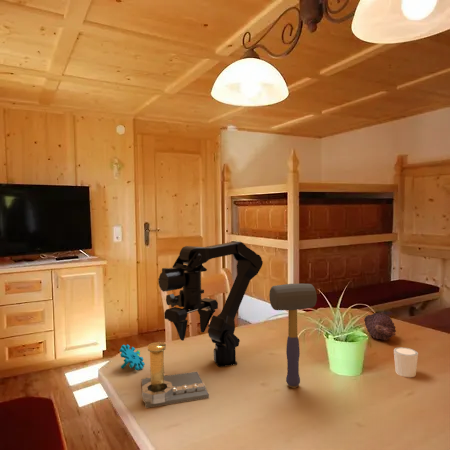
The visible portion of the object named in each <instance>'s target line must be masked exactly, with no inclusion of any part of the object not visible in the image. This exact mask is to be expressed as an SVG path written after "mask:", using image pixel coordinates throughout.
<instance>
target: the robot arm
mask: <svg viewBox="0 0 450 450" xmlns="http://www.w3.org/2000/svg"><path fill="white" fill-rule="evenodd" d="M231 255H232V256H233V259H235V261H236V262H237V264H236V272H237V274H236V277H235V279H234V281H233V284H232V287H231V288H230V291H229V293H228V295H227V297H226V300H225V302H224V305H223V307H222V310H221V312H220V313H219V314H217V316H216V315H214V313H215V312H216V310H217V309H219V303H218V302H219V301H217V300H216V299H213V298H208V297H204V298H202V294H204V293H205V289H202V272H208V269H207V268H206V267H205V266H204V265H203V264H205V263H207V262H208V261H210V260H212V259H217V258H221V257H227V256H231ZM262 258H263V257H262V256H261V255H260V254H258V253H256V252H255V251H254V250H252V249H251V248H249V247H248V246H247V245H246V244H245V243H244V242H242V241H237V240H235V241H234V240H233V241H231V242H224V243H219V244H214V245H208V246H198V245H197V246H192V245H185V246H182V248H181V249H180V251H179V255H178V256H177V258H176V260H175V262H174V263H173V265H172V267H163V268H162V269H161V273H160V274H159V277H158V279H157V280H158V285H159V289H160V290H161V291H162V292H164V293H165V292H171V291H175V290H179V293H178V294H177V295H175V294H174V293H169V294H168V295H167V294H166V296H165V302H166V305H167V306H170V308H167V309H166V310H165V311H164V312H163V313H164V314H163V315H164V320H168V322H171V323H172V324H173V325H174V326H175V329H176V332H177V333H178V334H177V335H178V336H179V339H180V341H185V339H186V333H187V332H186V331H187V326H188V321H189V320H188V319H187V318H188V314H190V313H194V312H197V313H198V314H199V324H200V326H199V328H200V332H201V333H205V331H206V329H207V327H208V329H207V333H208V337H209V338H210V339H211V342H212V343H213V344H214V346H215V348H213V361H214V362H215V363H214V364H216V365H217V367H219V368H222V367H230V366H237V365H238V362H237V361H236V359H237V358H236V357H237V356H236V348H237V347H239V345H240V342H241V340H240V339H239V337H237V336H236V335H235V331H236V323H235V322H236V321H235V319H236V316H237V313H238V311H239V308H240V306H241V303H242V301H243V299H244V297H245V295H246V291H247V289H248V287H249V285H250V282H251V280H252V279H254V277H256V276H257V275H258V274H259V272H260V270H261V268H262V266H263V262H264V261H263V259H262ZM176 306H178V307H176Z"/></svg>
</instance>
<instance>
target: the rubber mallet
mask: <svg viewBox="0 0 450 450" xmlns="http://www.w3.org/2000/svg"><path fill="white" fill-rule="evenodd" d="M268 297H269V303H270V306H271V308H272V309H273V310H274V311H288V329H287V330H288V336H287V339H286V353H285V354H286V361H287V362H286V363H287V366H286V367H287V371H286V373H287V374H286V377H285V378H286V379H285V382H286V384H287V386H288V387H289V388H298V387H299V385H300V384H301V378H300V368H299V366H300V365H299V364H300V363H299V361H300V354H301V353H300V341H299V336H298V310H305V309H311V308H314V307H315V306H316V304H317V301H318V296H317V291H316V288H315V286H314V285H313V284H312V283H286V284H278V285H272V286H271V287H270V289H269V296H268Z"/></svg>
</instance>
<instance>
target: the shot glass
mask: <svg viewBox="0 0 450 450" xmlns="http://www.w3.org/2000/svg"><path fill="white" fill-rule="evenodd" d="M393 356H394V357H393V359H394V368H395V373H396V374H397V375H398V376H400V377H404V378H414V377H416V375H417V367H418V360H419V359H418V357H419V352H418V351H416V350H415V349H413V348H409V347H395V348H394V349H393Z"/></svg>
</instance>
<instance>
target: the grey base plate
mask: <svg viewBox="0 0 450 450" xmlns="http://www.w3.org/2000/svg"><path fill="white" fill-rule="evenodd" d="M164 381H168V382H171V383H172V386H176V387H179V386H182V385H192V384H193V383H198V384H199V383H204V382H203V380H202V378H201V377H200V374H199V372H198V371H190V372H184V373H183V372H182V373H177V374H176V373H175V374H169V375H164ZM148 382H151V380H150V377H148V378H147V377H146V378H142V379H141V387H142V386H144V385H145V384H147V383H148ZM209 397H210V395H209V392H208V390H207V389H206V390H204V391H195V392H191V393H184V394H178V395H176V394H175V395H173V397H172V398H170V399H169V400H168V401H166V402H163V403H156V404H151V403H148V402H145V401H144V405H145V406H144V407H145V409H148V408H155V407H159V406H160V407H161V406H166V405H173V404H179V403H184V402H190V401H197V400H205V399H209Z"/></svg>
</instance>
